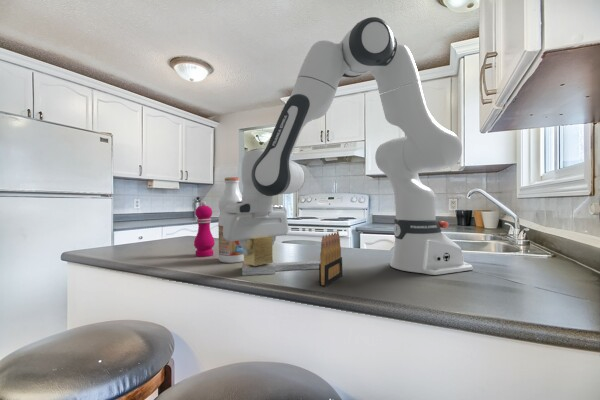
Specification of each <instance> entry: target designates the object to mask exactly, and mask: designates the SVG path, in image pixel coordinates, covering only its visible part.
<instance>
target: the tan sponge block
mask: <svg viewBox="0 0 600 400" xmlns="http://www.w3.org/2000/svg"><path fill="white" fill-rule="evenodd" d="M246 246H247V248H248V249H251V252H250V253H251V254H250V255H248V256H244V263H247V264H250V265H253V266H257V265H262V264H267V263H273V262H274V259H273V246H272V237H271V236H268V237H259V238H252V239H248V240H247V244H246Z"/></svg>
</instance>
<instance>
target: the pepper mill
mask: <svg viewBox="0 0 600 400" xmlns="http://www.w3.org/2000/svg"><path fill="white" fill-rule="evenodd" d="M194 215H195V217H197V218H196V223H197V225H198V227H197V228H198V230H197V233H196V236H195V238H194V243H193V246H194V248H195V249H196V251H195V257H198V258H207V257H212V256H214V249H213V248H214V246H215V239H214V236H213V234H212V232H211V226H210V225H211V223H212V218H211V217H212V216H213V209H212V208H211V206H209V205H207V202H206V200H205V201H204V200H203V201H202V202H200V205H199V206H197V207H196V209H195V214H194Z"/></svg>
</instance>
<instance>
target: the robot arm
mask: <svg viewBox="0 0 600 400" xmlns="http://www.w3.org/2000/svg"><path fill="white" fill-rule="evenodd" d="M367 72H369V74H371V75H372V77H373V78H374V79H375V82H376V83H377V89H378V94H379V98H380V101H381V106H382V111H383V114H384V117H385V121H387V123H389V124H390V125H392V126H396V127H398V128H399V129H400V130H402V132H403V134H404V135H405V136H402V137H397V138H393V139H390V140H387V141H385V142H384V143H382V144H380V145H378V147H377V148H376V151H375V155H374V156H375V157H374V158H375V164H376V166H377V168H378V169H379V170H380V171H381V172H382V173H383V174H384V175H385V176H386V177H387V179H388V180H389V182H390V184H391V187H392V190H393V193H394V204H395V218H394V221H393V235H394V247H393V252H392V258H391V260H390V263H389V264H390V267H391V268H393V269H396V270H400V271H404V272H411V273H417V274H420V273H421V274H425V275H430V276H431V275H433V276H436V275H438V276H439V275H444V274H452V273H460V272H465V271H473V268H474V267H473V265H472V264H470V263H468V262H465V261H464V254H463V251H462V248H461V246H460V245H458V244H457V243H456V242H454V241H453V240H452V239H451V238H449V237H448V236H447V235H445V233H443V232H442V229H448V228H449V226H450V223H449V222H448V221H443V220H442V221H439V220H438V219H436V217H437V216H436V213H437V212H436V209H437V208H436V207H437V206H436V199H437V198H436V194H435V192H434V191H433V189H432V188H431V187H428V186H427V185H425V184H423V183H422V181H421V179H420V176H419V173H423V172H425V173H426V172H437V171H440V170H445V169H448V168H451V167H454V166H455V165H457V163H458V162H459V160H460V159H461V157H462V153H463V145H462V141H461V139H460V138H459V136H458V135H457V134H456V133H454V132H453V131H451V130H449V129H447V128H446V127H445V126H442V125H441V124H440V123H439V122H437V120H436V119H435V118H434V117H433V115H432V114H431V112H430V111H429V108H428V106H427V102H426V100H425V99H426V98H425V96H424V91H423V89H422V85H421V84H422V83H421V79H420V75H419V71H418V68H417V65H416V63H415V60H414V56H413V54H412V53H411V51H410V49H409V47H408V46H406V45H404V44H400V43H399V44H398V40H397V38H396V37H395V36H394V33H393V31H392V29H391V28H390V26H389V24H388V23H386V21H385V20H383V19H381V18H379V17H375V16H372V17H371V16H370V17H366V18H364V19H362V20H360V21H358V22H357V23H356V24H355V25H354V26H353V27H352V28H351V29H350V30H349V31H348V32H347V33H346V34H345V35H344V37H343V39H341V41H340V42H339V43H335V42H333V41H329V40H318V41H316V42H314V43H313V45H311V47H310V49H309V50H308V52H307V54H306V56H305V58H304V60H303V63H302V64H301V67H300V70H299V71H298V74H297V78H296V80H295V83H294V86H293V89H292V91H291V94H290V96H289V98H288V99H287V100H286V102H285V104H284V105H283V107H282V109H281V112H280V115H279V116H278V119H277V122H276V124H275V126H274V129H273V131H272V134H271V135H270V138H269V140H268V143H267V145H266V147H265V148H255V149H249V150H248V151H246V152H245V153H244V155H243V157H242V162H241V184H242V193H241V194H242V200H240V201H238V202H235V203H232V204H229V205H227V206H226V208H225V209H226V212H227V213H229V214H227V215H226V216H225V218H224V223H223V237H224V239H225V240H227V241H239V244H240V246H241V247H242V249H243V255H244V256H248V255H250V254H251V253H250V252H251V249H248V248H247V246H246V244H247V240H248V239H252V238H259V237H268V236H271V237H272V247H273V246H274V244H275V242H276V241H277V239H276V237H282V236H287V234H288V233H289V223H288V222H289V221H288V216H287V211H288V210H287V208H286V207H285V206H284V205H281V204H280V205H275V204H273V203H274V201H273V199H274V198H273V197H274V196H279V195H289V194H290V195H291V194H294V193H297V192H298V191H300V190H301V189H302V187H303V186H304V184H305V178H306V175H305V171H304V169H303V167H302V166H301V165H300V164H299V163H297V162H296V161H293V160H291V156H292V154H293V152H294V150H295V147H296V145H297V142H298V139H299V137H300V136H301V135H300V134H301V132H302V130H303V128H304V127H305V126H306V125H308V123H310V122H312V121H314V120H315V121H316V120H318V119H320V118H322V117H323V116H326V115H327V112H328V111H329V109H330V107H331V105H332V104H333V101H334V99H335V96H336V93H337V91H338V87H339V84H340V81H341V79H342V78H343V77H344V78H349V79H350V78H357V77H360V76H362V75H364V74H366V73H367Z"/></svg>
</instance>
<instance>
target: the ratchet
mask: <svg viewBox="0 0 600 400" xmlns="http://www.w3.org/2000/svg"><path fill="white" fill-rule="evenodd" d="M319 264H320V260H307V261H290V262H289V261H287V262H286V261H285V262H275V261H273V263H267V264H262V265H257V266H253V265H250V264H247V263H244V261H242V268H241V275H242V276H257V275H259V276H261V275H274V274H275V275H276V272H281V271H300V270H303V271H304V270H319Z"/></svg>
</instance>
